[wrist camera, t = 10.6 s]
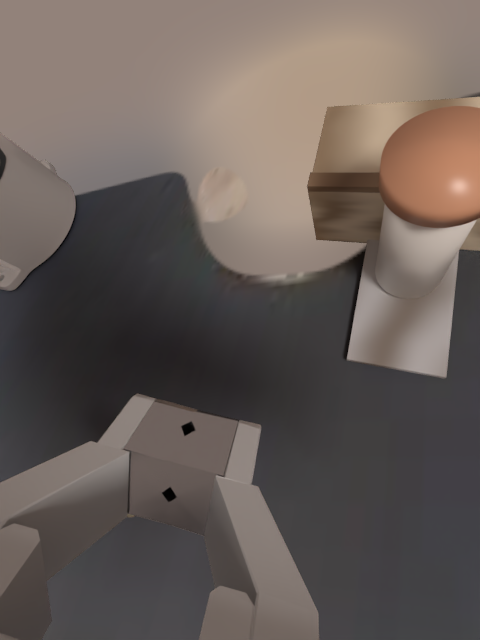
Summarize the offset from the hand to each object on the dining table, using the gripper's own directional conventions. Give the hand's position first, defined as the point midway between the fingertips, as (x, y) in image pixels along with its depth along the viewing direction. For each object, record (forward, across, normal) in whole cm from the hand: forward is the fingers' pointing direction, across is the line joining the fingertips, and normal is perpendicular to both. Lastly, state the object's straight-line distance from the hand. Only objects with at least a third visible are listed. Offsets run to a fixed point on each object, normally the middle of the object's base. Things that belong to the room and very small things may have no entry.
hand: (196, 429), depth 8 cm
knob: (+24, -11, +1) cm, 26 cm away
